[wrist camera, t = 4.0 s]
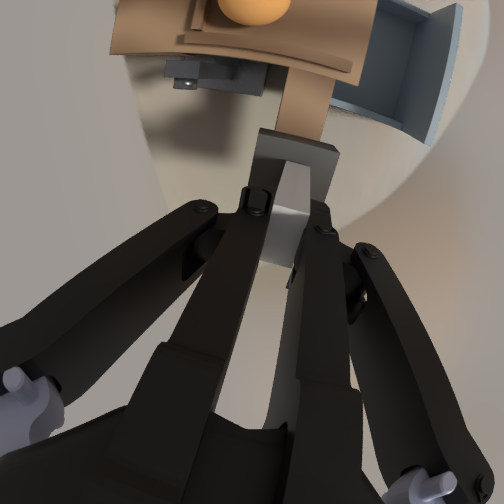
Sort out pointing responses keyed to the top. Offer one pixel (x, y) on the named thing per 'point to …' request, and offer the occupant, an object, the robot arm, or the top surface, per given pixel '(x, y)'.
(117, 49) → the lever
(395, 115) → the bin
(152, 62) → the top surface
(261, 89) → the lever stand
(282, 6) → the ball
